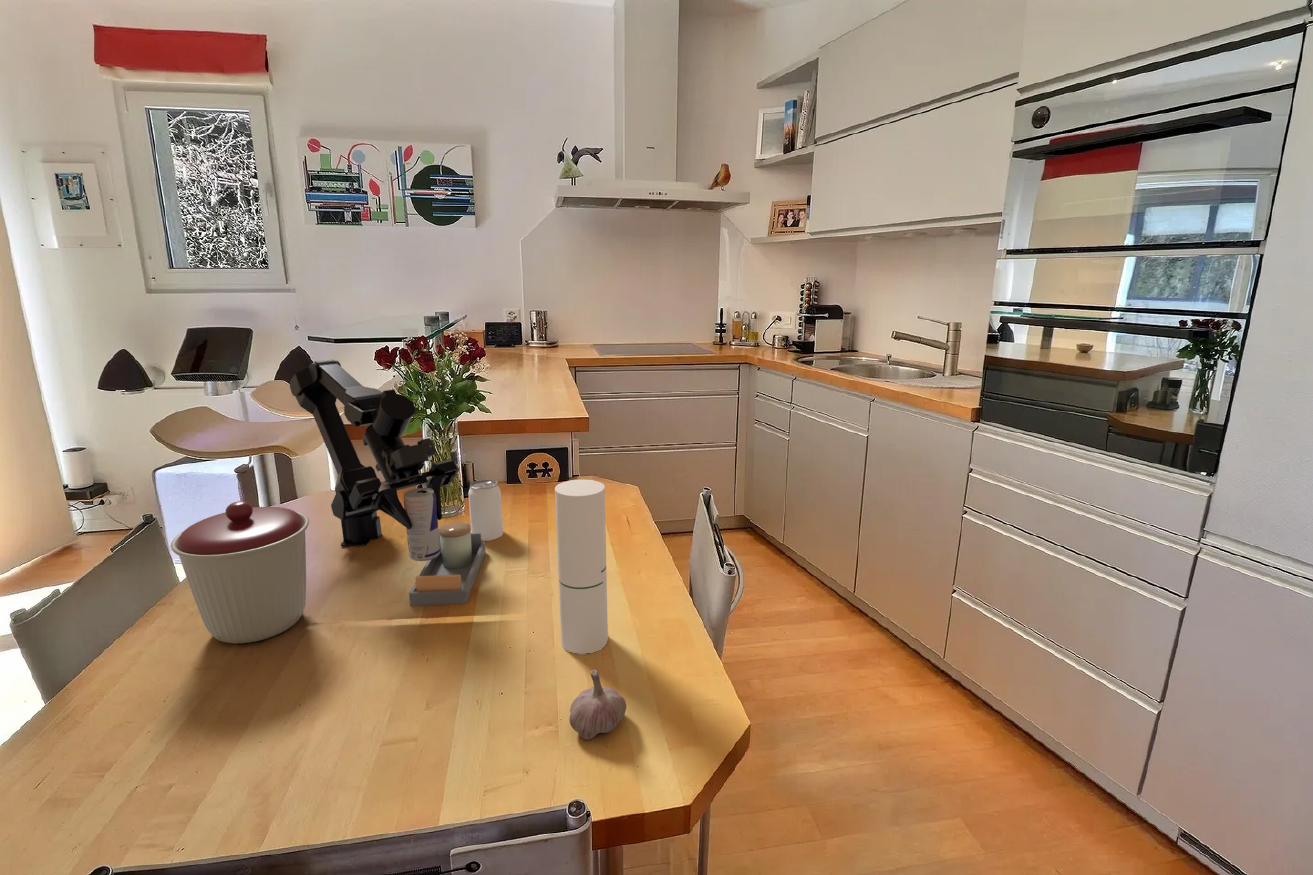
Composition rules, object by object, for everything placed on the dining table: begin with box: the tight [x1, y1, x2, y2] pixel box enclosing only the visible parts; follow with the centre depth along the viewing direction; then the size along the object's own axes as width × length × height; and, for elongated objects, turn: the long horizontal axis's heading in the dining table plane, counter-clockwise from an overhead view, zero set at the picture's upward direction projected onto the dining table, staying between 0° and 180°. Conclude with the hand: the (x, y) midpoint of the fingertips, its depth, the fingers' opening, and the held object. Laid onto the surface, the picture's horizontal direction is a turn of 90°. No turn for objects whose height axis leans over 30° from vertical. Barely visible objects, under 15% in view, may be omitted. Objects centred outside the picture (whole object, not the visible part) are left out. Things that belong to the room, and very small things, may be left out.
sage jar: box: [438, 521, 473, 569], centre depth 125 cm, size 6×6×7 cm
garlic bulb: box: [568, 669, 627, 741], centre depth 82 cm, size 8×7×8 cm
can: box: [468, 479, 504, 542], centre depth 137 cm, size 6×6×12 cm
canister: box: [170, 500, 310, 645], centre depth 103 cm, size 18×18×21 cm
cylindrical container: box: [554, 479, 609, 655], centre depth 98 cm, size 7×7×25 cm
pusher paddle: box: [415, 575, 462, 592], centre depth 111 cm, size 7×1×4 cm, turn 95°
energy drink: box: [402, 487, 441, 562], centre depth 117 cm, size 5×5×12 cm
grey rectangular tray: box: [408, 533, 486, 607], centre depth 120 cm, size 9×20×5 cm, turn 5°
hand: (425, 523), depth 116 cm, fingers closed on energy drink, 5 cm apart
